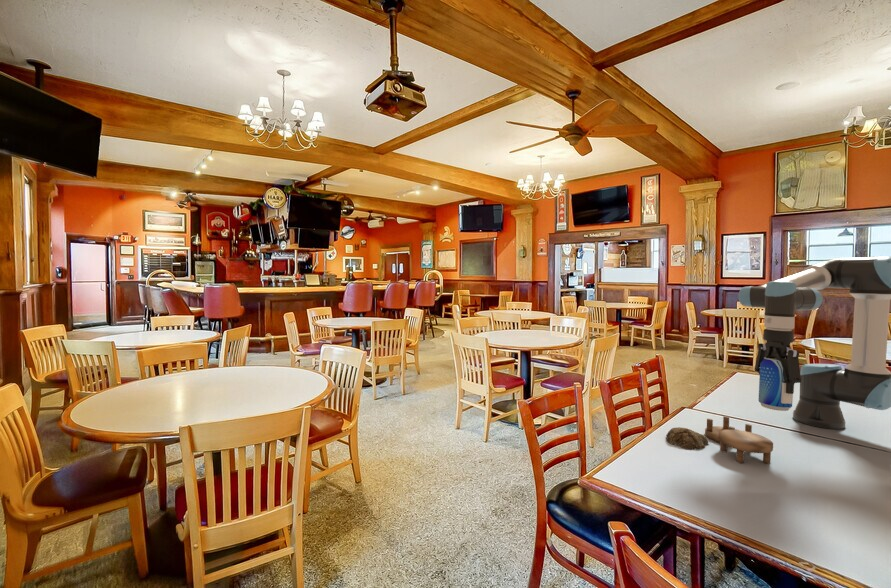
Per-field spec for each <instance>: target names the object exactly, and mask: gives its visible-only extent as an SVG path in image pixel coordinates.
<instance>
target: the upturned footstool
mask: <svg viewBox="0 0 891 588" xmlns="http://www.w3.org/2000/svg"><path fill="white" fill-rule="evenodd" d="M722 417H723V418H722V419H723V420H722V421H723V422H722V426H719V425H718V426H717V425H714V424H713V423H714V420H713V419H712V418H706V427H705V429H704V435H705V436H704V437H706V439H707V440H710V441H712V442H715V443H717V444H720V441H719V439H718V433H719V432H720V431H722V430H738V429H736V428H735V427H733V426H730V417H729V416H725V415H724V416H722ZM713 425H714V426H713ZM752 428H753V425H752V424H750V423H745V426H744V431H746V432H751V433H753V432H752V430H753V429H752Z"/></svg>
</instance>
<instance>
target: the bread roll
mask: <svg viewBox="0 0 891 588" xmlns="http://www.w3.org/2000/svg"><path fill="white" fill-rule="evenodd" d="M704 435H705V434H702V433H698V432H696V431H694V430H692V429H690V428H688V427H687V428H686V427H680V426H679V427H672V428H671V429H670V430H669V431H668V432H667V433H666V435H665V436H666V441H667V442H668V444H671V445H676V446H680V447H681V448H683V449H685V450H703V449H705V448H706V446H709V439H708V438H707V437H706V436H704Z"/></svg>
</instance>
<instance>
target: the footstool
mask: <svg viewBox="0 0 891 588" xmlns="http://www.w3.org/2000/svg"><path fill="white" fill-rule="evenodd" d="M718 439H719V441H720V443H719V445H720V446H719V451H720V452H723V453H724V452H725V453H727V450H728V449H727V448H728V447H729V448H732V449H735V450H736V462H737V463H738V464H744V461H745V452H747V453H751V454H752V453H753V454H762V462H763V463H764V464H768V465H769V464H771V457H772V455H771V454H772V452H773V451H774V442H773V441H772V439H769V438H768V437H766V436H763V435H760V434H758V433H755V432H752V433H751V432H746V431H745V430H740V429H737V430H722V431H720V432H719V433H718Z"/></svg>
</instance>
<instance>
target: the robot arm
mask: <svg viewBox="0 0 891 588" xmlns="http://www.w3.org/2000/svg"><path fill="white" fill-rule="evenodd" d="M824 289H846V290H848V289H849V295H850V296H851V297H853V299H854V309H853V324H852V326H853V327H852V339H851V340H852V343H851V355H850V363H849V364H847V365H846V366H845V367H844V370H843V367H842V366H841V365H840V364H835V363H834V364H833V363H805V364H803V365H801V367H800V362H799V361H800V360H799V357H800V350H798V349H796V350H795V349H792V348H791V344H792V343H793V342H794V340H795V337H794V336H795V332H794V331H793V330H794V329H795V325H796V324H795V323H796V322H795V321H796V320H795V319H796V318H795V317H796V316H795V315H796V311H806V312H808V311H812V310H816V309H818V308H819V307H821V306H822V303H823V299H824V298H823V295H822V293H821V292H820V290H824ZM738 301H739V304H740V305H741V306H743V307H747V308H748V307H750V308H758V309H759V308H761V309H764V318H763V319H764V321H763V327H764V329H763V330H762V331H763V333H762V335H763V336H762V339H763V340H764V341H765V343H760V342H759V343H758V345H757V348H758V349H757V354H756V359H755V360H756V361H755V366H754V371H755V372H757V373H758V374H759V375H760V363H761V362H762V361H763V360H764V357H766V358H776V359H777V360H779V361H780V362H781V365H782V367H783V378H784V381H782V395H781V403H784V404H792V405H793V399H792V394H793V395H794V394H795V393H794V392H795V391H794V390H795V384H799V400H798V402H797V403H796V406H795V408H794V410H793V412H792V418H793V419H794V420H795V421H797V422H799V423H802V424H805V425H808V426H813V427H817V428H821V429H822V428H823V429H831V430H841V429H845V428H846V419H845V418H844V414H843V412H842V408H841V407H840V405H841V404H840V403H841V402H843V403H847V404H852V405H854V406H858V407H859V406H860V407H863V408H866V409H873V410H876V411H878V410H879V411H885V410H889V409H890V408H891V371H890V370H889V369H888V368H887V367H886V364H887V350H888V336H889V335H888V334H889V318H890V305H891V256H881V255H880V256H862V257H861V256H858V257H840V258H839V257H838V258H833V259H829V260H825V261H821V262H818V263H815V264H812V265H808V266H806V267H805V268H804V269H803V270H802V271H799V272H797V273H794V274H791V275H787V276H785V277H782V278H778V279H776V280H774V281H773V280H772V281H771V280H770V281H768V282H766V283H765V284H760V285H758V286H755V285H750V286H743V287H742V288H740V289H739V292H738ZM784 358H786V359H784Z"/></svg>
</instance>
